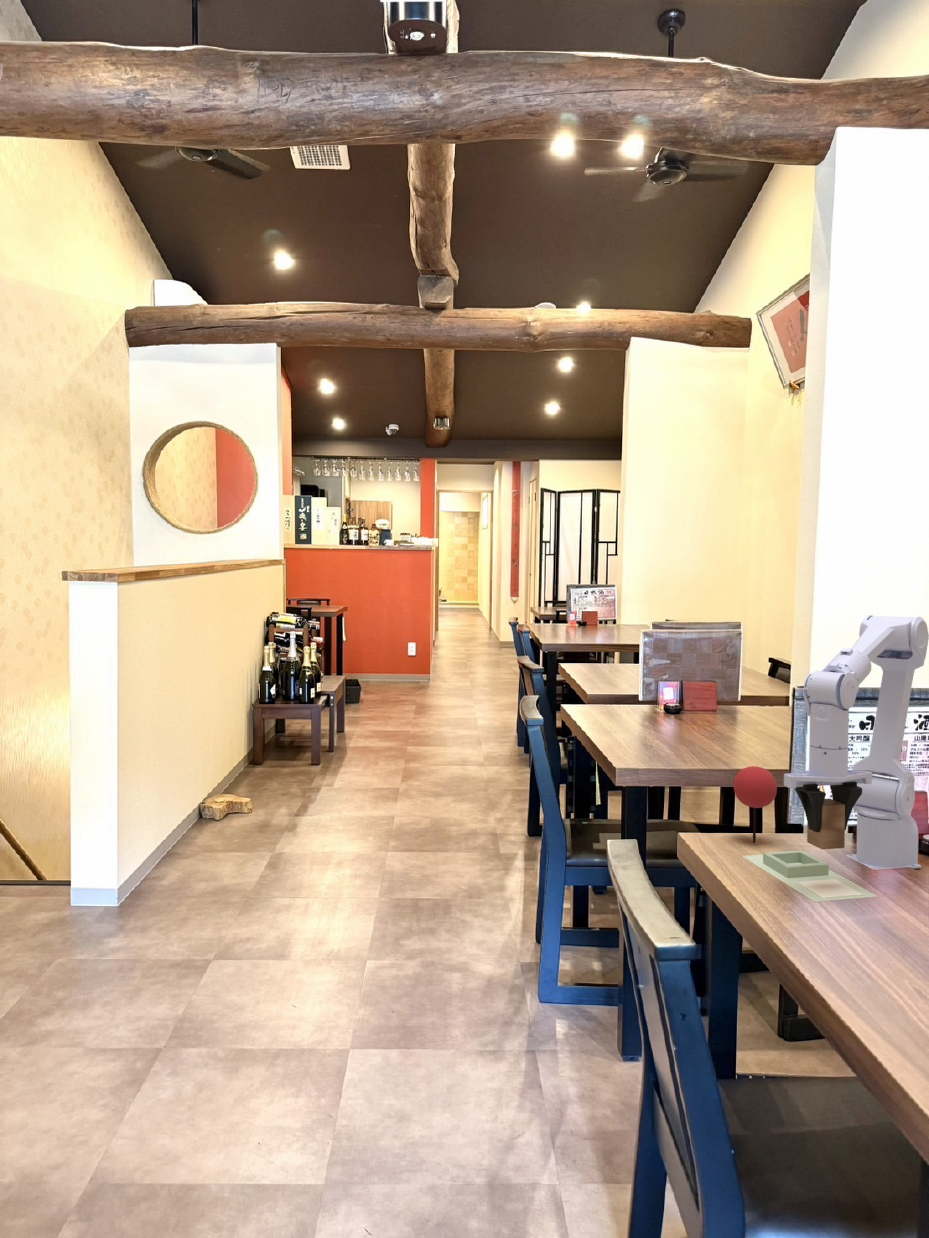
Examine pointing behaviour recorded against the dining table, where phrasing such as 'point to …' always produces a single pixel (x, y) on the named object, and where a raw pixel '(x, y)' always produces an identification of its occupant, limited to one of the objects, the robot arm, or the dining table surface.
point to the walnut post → (829, 827)
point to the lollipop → (755, 789)
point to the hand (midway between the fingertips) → (827, 829)
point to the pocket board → (808, 876)
